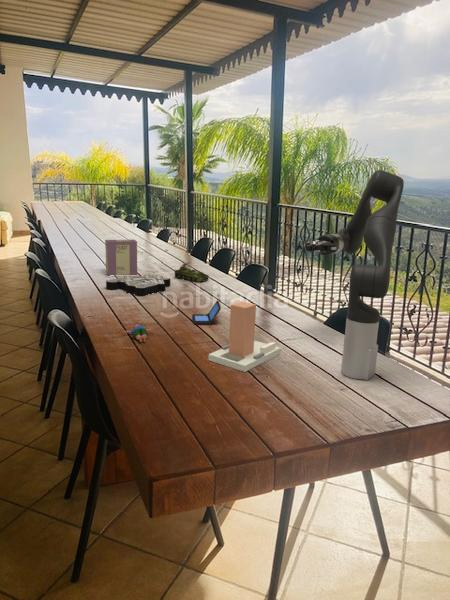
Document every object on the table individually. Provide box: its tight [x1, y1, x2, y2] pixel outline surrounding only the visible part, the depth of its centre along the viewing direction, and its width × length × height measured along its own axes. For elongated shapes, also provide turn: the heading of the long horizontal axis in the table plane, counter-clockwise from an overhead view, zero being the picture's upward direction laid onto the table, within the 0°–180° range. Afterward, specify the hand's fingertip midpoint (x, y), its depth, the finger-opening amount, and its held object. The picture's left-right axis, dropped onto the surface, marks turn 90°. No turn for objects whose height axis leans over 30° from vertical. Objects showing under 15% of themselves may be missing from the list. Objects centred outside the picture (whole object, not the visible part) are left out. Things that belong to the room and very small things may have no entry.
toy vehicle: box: [174, 262, 210, 283], centre depth 264 cm, size 9×20×10 cm, turn 54°
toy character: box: [120, 321, 156, 343], centre depth 165 cm, size 12×5×15 cm
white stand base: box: [208, 340, 282, 373], centre depth 150 cm, size 14×21×4 cm, turn 143°
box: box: [104, 239, 138, 277], centre depth 269 cm, size 17×9×20 cm, turn 111°
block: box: [228, 301, 257, 358], centre depth 146 cm, size 6×6×16 cm
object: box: [191, 300, 222, 326], centre depth 187 cm, size 12×11×7 cm
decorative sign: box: [105, 274, 171, 297], centre depth 240 cm, size 28×4×30 cm
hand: (308, 248), depth 157 cm, fingers closed
